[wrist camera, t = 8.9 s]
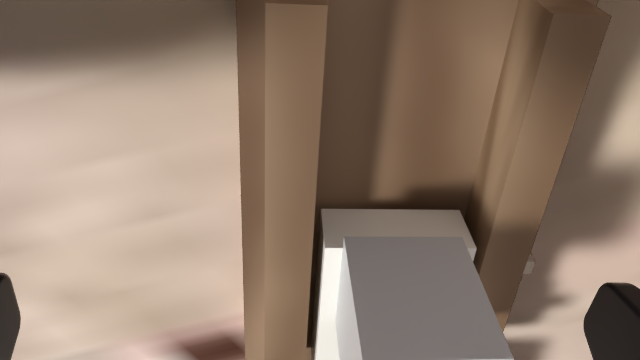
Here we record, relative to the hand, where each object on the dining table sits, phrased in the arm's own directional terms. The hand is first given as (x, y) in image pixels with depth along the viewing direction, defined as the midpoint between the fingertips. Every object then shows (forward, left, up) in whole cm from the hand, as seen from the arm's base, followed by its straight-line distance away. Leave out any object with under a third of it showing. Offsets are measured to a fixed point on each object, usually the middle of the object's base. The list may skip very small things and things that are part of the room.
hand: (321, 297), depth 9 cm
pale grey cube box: (+5, -10, -10) cm, 15 cm away
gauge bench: (+4, -7, -12) cm, 14 cm away
